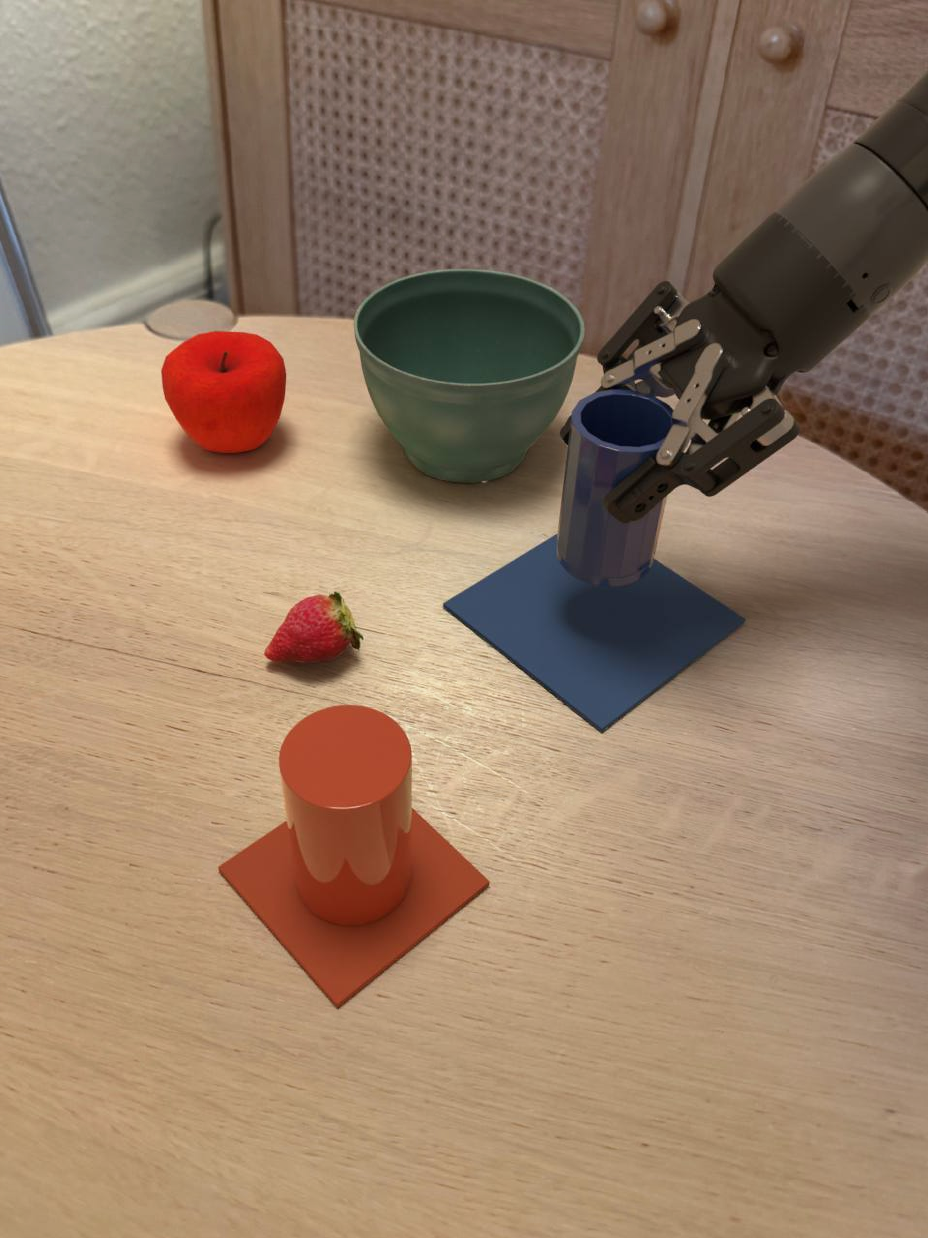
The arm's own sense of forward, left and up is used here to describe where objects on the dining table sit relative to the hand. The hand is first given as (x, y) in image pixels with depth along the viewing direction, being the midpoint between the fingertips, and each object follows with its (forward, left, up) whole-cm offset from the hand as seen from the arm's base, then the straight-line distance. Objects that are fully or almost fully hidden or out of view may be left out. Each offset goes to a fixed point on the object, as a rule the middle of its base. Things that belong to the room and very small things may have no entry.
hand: (591, 477), depth 62 cm
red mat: (-6, +22, -12) cm, 26 cm away
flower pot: (+18, -8, -12) cm, 23 cm away
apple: (+30, +5, -12) cm, 33 cm away
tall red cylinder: (-6, +22, -11) cm, 26 cm away
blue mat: (-1, -2, -12) cm, 12 cm away
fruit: (+8, +14, -12) cm, 20 cm away
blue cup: (-1, -2, -6) cm, 6 cm away
